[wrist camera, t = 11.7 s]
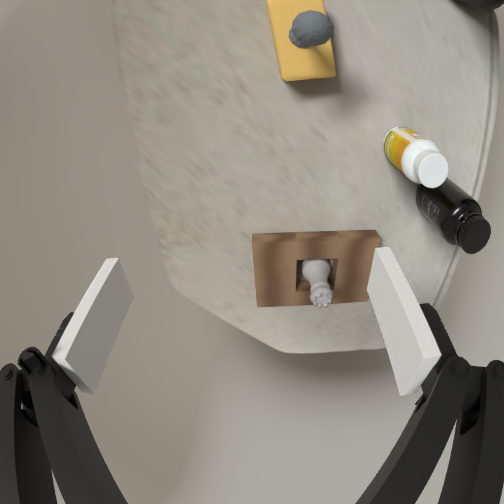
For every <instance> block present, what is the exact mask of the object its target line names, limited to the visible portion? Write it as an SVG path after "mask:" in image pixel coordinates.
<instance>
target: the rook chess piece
mask: <svg viewBox="0 0 504 504" xmlns="http://www.w3.org/2000/svg"><path fill="white" fill-rule="evenodd" d="M301 270H302V273H303V276H304V277H305V279H306V280H308V281H309V282H310V285H311V288H310V292H311V295H310V300H311V302H312V303H314V305H315V306H316V305H318V308H321V307H322V305H324V307H327V306H328V303H329V304H331V302H332V298H333V292H332V290H331V289H330V285H329V284H328V282H327V278H328V276H329V273H330V262H329V260H328V259H312V260H304V261H303V262H302V265H301Z"/></svg>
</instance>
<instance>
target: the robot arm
mask: <svg viewBox="0 0 504 504" xmlns="http://www.w3.org/2000/svg"><path fill="white" fill-rule="evenodd" d="M455 1H457V2H458V3H460V4H462V5H464V6H466V7H468V8H471V9H475V10H493V9H496V8H498V7H500V6H501V5H502V4H504V0H455ZM367 292H368V295H369V297H370V300H371V303H372V306H373V309H374V312H375V314H376V317H377V320H378V323H379V326H380V329H381V332H382V336H383V339H384V342H385V345H386V348H387V351H388V355H389V358H390V361H391V365H392V368H393V371H394V375H395V378H396V382H397V386H398V390H399V393H400V396H403V395H408V394H413V393H416V392H417V391H418V389H419V388H420V386H421V387H422V390H423V394H422V396H421V397H420V398H419V400H418V401H417V402H416V403H415V405H417V406H416V408H415V410H414V412H413V414H412V416H411V417H410V419H409V421H408V423H407V425H406V427H405V429H404V430H403V432H402V434H401V436H400V438H399V439H398V441H397V443H396V445H395V446H394V448H393V449H392V451H391V453H390V455H389V456H388V458H387V459H386V461H385V463H384V464H383V465H382V467H381V469H380V470H379V472H378V473H377V474H376V476H375V478H374V479H373V480H372V482H371V483H370V485H369V486H368V487H367V489H366V490H365V492H364V493H363V494H362V496H361V497H360V498H359V500H358V501H357V502H356V503H355V504H415V503H416V501H417V499H418V498H419V496H420V494H421V493H422V491H423V489H424V487H425V486H426V484H427V482H428V480H429V478H430V476H431V474H432V473H433V471H434V469H435V467H436V465H437V463H438V461H439V459H440V457H441V455H442V452H443V450H444V448H445V446H446V443H447V441H448V439H449V437H450V434H451V432H452V429H453V427H454V425H455V422H456V419H457V423H456V429H455V435H454V441H453V446H452V451H451V456H450V461H449V465H448V469H447V473H446V477H445V481H444V485H443V488H442V492H441V495H440V499H439V502H438V504H499V503H500V498H501V494H502V488H503V483H504V362H502V361H499V360H493V361H491V362H490V363H489V364H488V366H487V367H478V366H471V365H470V364H469V363H468V362H467V361H466V360H465V359H464V358H462V357H459V356H458V355H457V354H456V352H455V349H454V347H453V345H452V342H451V340H450V338H449V336H448V334H447V332H446V329H444V325H443V323H442V322H441V319H440V317H439V315H438V313H437V311H436V310H435V309H434V308H433V307H432V306H431V305H430V304H429V303H425V304H419V303H418V301H417V299H416V297H415V295H414V293H413V291H412V289H411V287H410V285H409V283H408V281H407V279H406V277H405V276H404V274H403V272H402V270H401V268H400V266H399V264H398V262H397V261H396V259H395V257H394V255H393V253H392V251H391V250H390V248H389V247H381V248H375V252H374V257H373V262H372V267H371V272H370V277H369V281H368V286H367ZM133 297H134V296H133V293H132V291H131V289H130V286H129V284H128V281H127V279H126V276H125V274H124V271H123V269H122V266H121V264H120V261H119V258H112V259H111V258H110V259H106V261H105V262H104V264H103V265H102V267H101V269H100V270H99V272H98V273H97V275H96V277H95V278H94V280H93V282H92V283H91V285H90V287H89V289H88V290H87V292H86V293H85V295H84V297H83V299H82V300H81V302H80V304H79V306H78V307H77V309H76V311H75V313H73V312H71V313H70V314H69V315H68V316H67V317H66V318H65V319H64V320H63V322H62V324H61V326H60V329H58V331H57V333H56V336H55V337H54V339H53V340H52V342H51V344H50V346H49V348H48V350H47V352H46V354H45V356H43V355H42V353H41V352H40V351H39V349H37V348H36V347H29V348H27V349H25V350H24V351H23V352H22V353H21V354H20V356H19V358H18V365H19V366H20V367H21V368H22V369H21V370H19V369H18V368H17V367H16V366H15V365H14V364H12V363H10V364H7V365H5V366H4V367H3V368H2V369H1V371H0V504H57V500H56V495H55V489H54V484H53V478H52V472H51V468H52V471H53V474H54V477H55V479H56V482H57V484H58V487H59V489H60V492H61V494H62V496H63V499H64V501H65V503H66V504H128V503H127V502H126V500H125V498H124V497H123V495H122V493H121V491H120V490H119V488H118V486H117V484H116V482H115V480H114V479H113V477H112V475H111V473H110V471H109V469H108V467H107V465H106V463H105V461H104V459H103V457H102V455H101V453H100V451H99V448H98V447H97V444H96V442H95V439H94V437H93V435H92V433H91V430H90V428H89V425H88V423H87V420H86V418H85V415H84V413H83V410H82V408H81V405H80V402H79V399H78V396H77V394H76V392H75V391H74V389H75V387H76V386H77V387H78V388H79V389H80V390H81V391H82V392H85V393H89V394H95V393H96V390H97V387H98V384H99V382H100V379H101V376H102V373H103V371H104V368H105V365H106V363H107V360H108V357H109V355H110V352H111V350H112V347H113V345H114V342H115V340H116V337H117V335H118V332H119V330H120V327H121V325H122V323H123V320H124V318H125V316H126V313H127V311H128V308H129V306H130V304H131V302H132V299H133ZM21 404H22V405H23V408H22V409H21Z"/></svg>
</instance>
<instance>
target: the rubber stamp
mask: <svg viewBox="0 0 504 504" xmlns="http://www.w3.org/2000/svg"><path fill="white" fill-rule="evenodd" d="M267 10H268V15H269V19H270V24H271V29H272V34H273V39H274V44H275V49H276V54H277V59H278V64H279V70H280V75H281V78H282V79H283V80H285V81H295V80H305V79H316V78H329V77H334V76H335V75H336V69H335V62H334V56H333V50H332V44H331V37H332V34H333V25H332V23H331V21H330V19H329V18H328V17H327V16H326V12H325V7H324V3H323V0H268V1H267Z"/></svg>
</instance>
